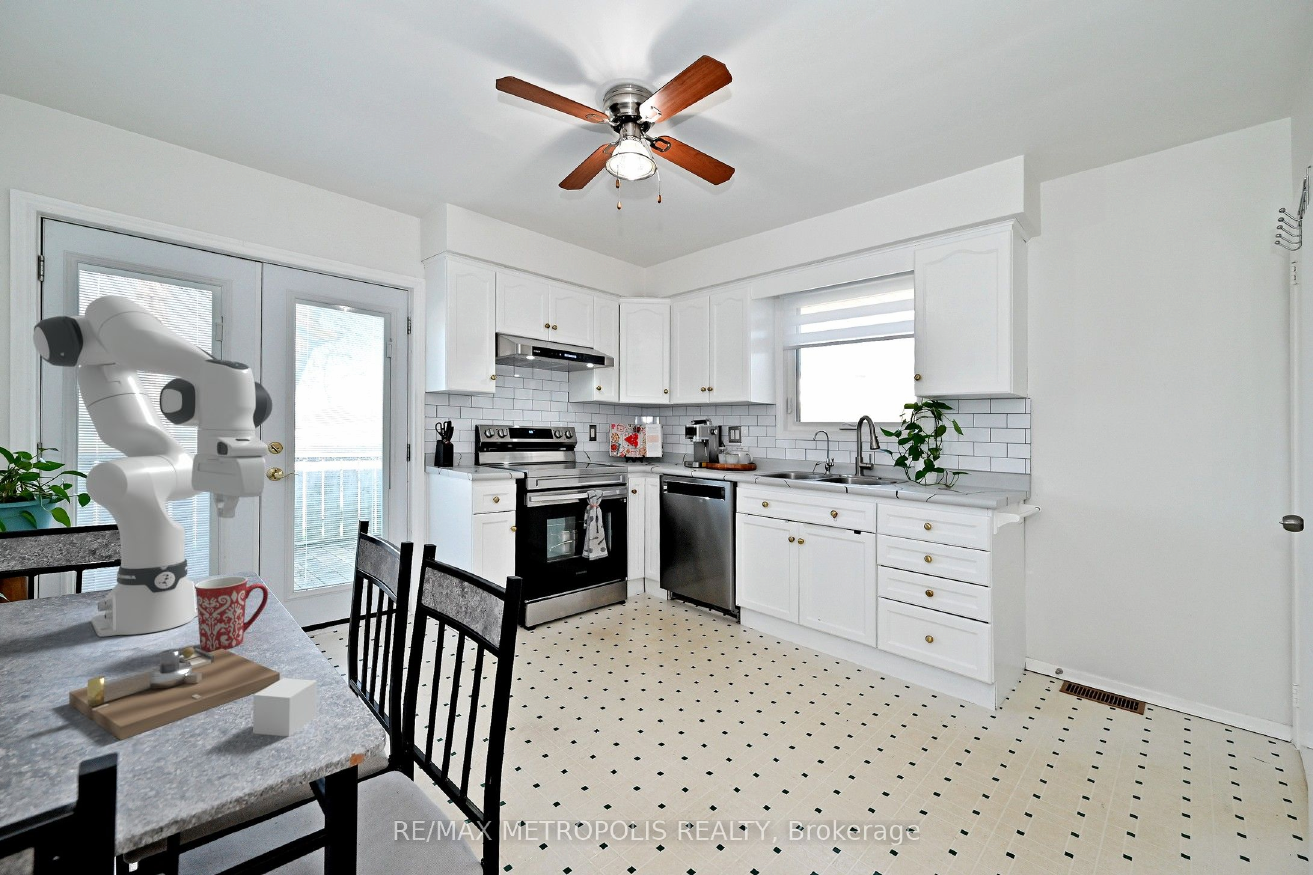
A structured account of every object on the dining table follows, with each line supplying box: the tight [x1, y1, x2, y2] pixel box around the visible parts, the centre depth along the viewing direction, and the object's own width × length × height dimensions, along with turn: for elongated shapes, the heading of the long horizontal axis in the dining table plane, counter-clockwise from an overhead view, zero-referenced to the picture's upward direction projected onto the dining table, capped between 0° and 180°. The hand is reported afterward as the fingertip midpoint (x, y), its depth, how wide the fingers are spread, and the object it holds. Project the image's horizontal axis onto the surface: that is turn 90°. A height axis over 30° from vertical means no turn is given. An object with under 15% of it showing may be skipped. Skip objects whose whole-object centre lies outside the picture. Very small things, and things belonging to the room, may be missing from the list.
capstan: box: [87, 648, 202, 706], centre depth 95 cm, size 13×9×5 cm
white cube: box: [252, 677, 318, 737], centre depth 90 cm, size 6×6×6 cm
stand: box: [68, 646, 281, 741], centre depth 99 cm, size 22×22×4 cm
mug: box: [194, 575, 269, 652], centre depth 122 cm, size 13×9×14 cm
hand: (226, 517), depth 109 cm, fingers closed
